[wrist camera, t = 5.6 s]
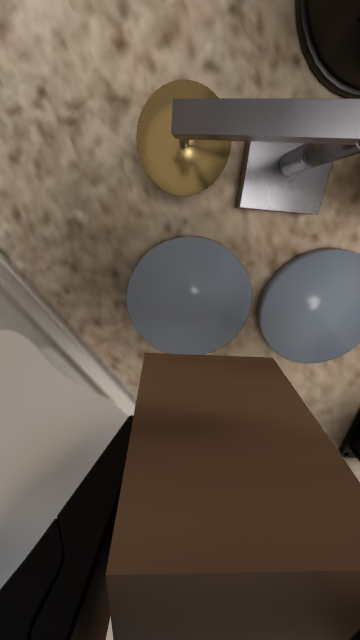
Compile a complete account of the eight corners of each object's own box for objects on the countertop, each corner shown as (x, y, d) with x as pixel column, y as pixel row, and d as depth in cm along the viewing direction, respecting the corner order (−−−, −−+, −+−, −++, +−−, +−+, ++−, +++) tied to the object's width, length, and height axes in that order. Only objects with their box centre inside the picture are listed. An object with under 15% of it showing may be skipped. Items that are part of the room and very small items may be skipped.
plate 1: (235, 351, 20) (239, 359, 19) (129, 345, 20) (126, 352, 19) (258, 241, 17) (264, 243, 16) (129, 230, 16) (125, 231, 15)
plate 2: (347, 358, 21) (357, 366, 20) (247, 352, 20) (251, 360, 19) (393, 253, 17) (408, 256, 16) (272, 242, 17) (279, 244, 16)
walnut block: (248, 445, 10) (322, 666, 5) (144, 444, 10) (118, 675, 5) (272, 357, 8) (420, 569, 3) (144, 352, 8) (105, 574, 3)
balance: (430, 133, 14) (887, -9, 5) (393, 222, 16) (676, 234, 7) (145, 99, 14) (82, -148, 4) (143, 198, 16) (98, 177, 6)
